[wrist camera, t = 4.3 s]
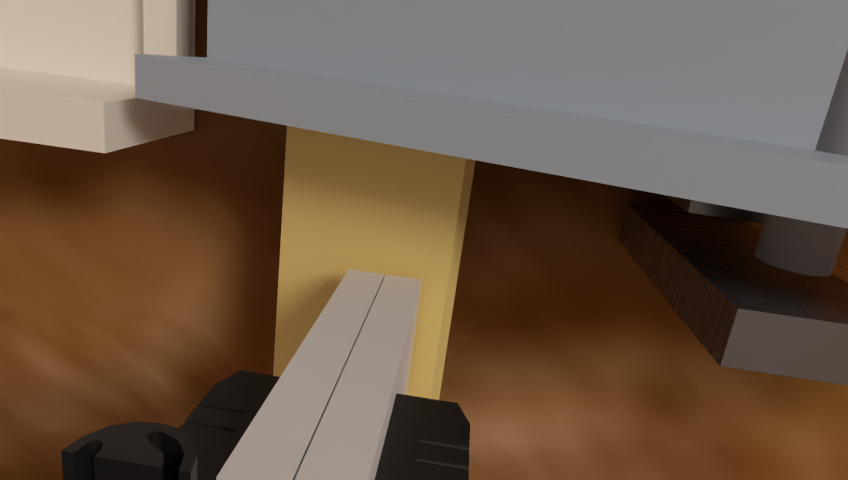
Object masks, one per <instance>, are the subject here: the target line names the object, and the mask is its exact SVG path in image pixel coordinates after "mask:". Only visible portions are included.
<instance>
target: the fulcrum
mask: <svg viewBox="0 0 848 480" xmlns="http://www.w3.org/2000/svg"><path fill="white" fill-rule="evenodd" d="M664 196H665V197H667V198H668V199H669V200H671V201H672V202H674V203H675V204H676V205H678V206H679V207H681V208H682V209H683V210H685V211H686V212H688V213H694V214H701V215H708V216H716V217H723V218H730V219H737V220H744V221H751V222H759V223H764V220H765V217H766V213H760V212H755V211H749V210H744V209H738V208H733V207H727V206H722V205H716V204H711V203H706V202H700V201H695V200H689V199H684V198H678V197H673V196H667V195H664ZM760 233H761V231H760V230H758V229H756V228H755V227H753V226H751V225H750V224H748V223H746V222H741V221H734V220H727V219H720V218H713V217H706V216H698V215H691V214H684V213H677V212H670V211H663V210H655V209H648V208H641V207H634V206H629V207H628V211H627V215H626V219H625V223H624V228H623V232H622V236H621V240H620V243H621V244H622V245H623V247H624V248H625V249H626V250H627V252H628V253H629V254H630V255H631V257H632V258H633V259H634V260H635V261H636V263H637V264H638V265H639V266H640V268H641V269H642V270H643V271H644V273H645V274H646V275H647V276H648V278H649V279H650V280H651V281H652V283H653V284H654V285H655V286H656V288H657V289H658V290H659V291H660V292H661V294H662V295H663V296H664V297H665V299H666V300H667V301H668V302H669V304H670V305H671V306H672V307H673V309H674V310H675V311H676V312H677V314H678V315H679V316H680V317H681V318H682V320H683V321H684V322H685V323H686V325H687V326H688V327H689V328H690V330H691V331H692V332H693V333H694V335H695V336H696V337H697V338H698V340H699V341H700V342H701V343H702V344H703V346H704V347H705V348H706V349H707V351H708V352H709V353H710V354H711V356H712V357H713V358H714V359H715V361H716V362H717V363H718V364H719V366H721V367H728V368H735V369H741V370H748V371H755V372H762V373H768V374H775V375H782V376H789V377H795V378H802V379H809V380H816V381H822V382H829V383H836V384H843V385H848V283H847V282H845V281H843V280H842V279H840V278H838V277H837V276H835V275H833V274H831V275H830V276H823V277H822V276H810V275H804V274H799V273H795V272H791V271H787V270H783V269H780V268H777V267H774V266H771V265H769V264H766V263H764V262H762V261H760V260H759V259H757V258H756V257H755V256H754V253H755V249H756V246H757V243H758V240H759V236H760Z"/></svg>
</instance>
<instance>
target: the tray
mask: <svg viewBox="0 0 848 480" xmlns="http://www.w3.org/2000/svg"><path fill="white" fill-rule="evenodd" d="M195 9H196V0H0V139H7V140H14V141H21V142H28V143H35V144H42V145H50V146H57V147H64V148H71V149H78V150H85V151H92V152H99V153H108V152H112V151H116V150H120V149H124V148H128V147H131V146H135V145H139V144H143V143H147V142H150V141H154V140H158V139H162V138H166V137H170V136H173V135H177V134H181V133H185V132H189V131H192V130H194V117H195V109H194V108H188V107H183V106H177V105H172V104H166V103H161V102H156V101H150V100H145V99H139V98H136V96H135V54H148V55H168V56H187V57H195Z"/></svg>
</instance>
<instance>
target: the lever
mask: <svg viewBox="0 0 848 480" xmlns="http://www.w3.org/2000/svg"><path fill="white" fill-rule="evenodd" d="M135 96H136V98H139V99H145V100H150V101H156V102H161V103H166V104H172V105H177V106H183V107H188V108H194V109H199V110H205V111H210V112H215V113H221V114H226V115H232V116H237V117H243V118H248V119H254V120H259V121H264V122H270V123H275V124H281V125H286V126H287V135H286V153H285V171H284V189H283V206H282V224H281V242H280V260H279V278H278V296H277V314H276V332H275V350H274V368H273V376H278V377H281V375H282V373H283V372H284V370H285V369H286V367H287V366H288V364H289V362H290V361H291V359H292V358H293V356H294V355H295V353H296V351H297V350H298V348H299V347H300V345H301V344H302V342H303V340H304V339H305V337H306V336H307V334H308V333H309V331H310V330H311V328H312V326H313V325H314V323H315V322H316V320H317V319H318V317H319V315H320V314H321V312H322V311H323V309H324V308H325V306H326V304H327V303H328V301H329V300H330V298H331V297H332V295H333V293H334V292H335V290H336V289H337V287H338V286H339V284H340V282H341V281H342V279H343V278H344V276H345V275H346V273H347V272H348V270H349V269H352V270H359V271H366V272H372V273H379V274H385V275H392V276H399V277H405V278H412V279H419V280H422V282H421V289H420V297H419V304H418V312H417V319H416V327H415V334H414V342H413V349H412V357H411V364H410V372H409V379H408V387H407V394H406V395H410V396H416V397H422V398H428V399H435V400H439V396H440V390H441V383H442V376H443V370H444V363H445V357H446V350H447V344H448V337H449V331H450V324H451V318H452V311H453V305H454V298H455V292H456V285H457V279H458V272H459V266H460V259H461V253H462V246H463V240H464V233H465V226H466V220H467V213H468V207H469V200H470V194H471V187H472V181H473V174H474V168H475V161H476V160H477V161H482V162H488V163H493V164H499V165H504V166H510V167H515V168H520V169H526V170H531V171H537V172H542V173H548V174H553V175H559V176H564V177H569V178H575V179H580V180H586V181H591V182H597V183H602V184H608V185H613V186H618V187H624V188H629V189H635V190H640V191H646V192H651V193H657V194H662V195H667V196H673V197H678V198H684V199H689V200H695V201H700V202H706V203H711V204H716V205H722V206H727V207H733V208H738V209H744V210H749V211H755V212H760V213H766V217H765V220H764V224H763V227H762V230H761V233H760V236H759V240H758V243H757V246H756V249H755V253H754V256H755V257H756V258H757V259H759V260H760V261H762V262H764V263H766V264H769V265H771V266H774V267H777V268H780V269H783V270H787V271H791V272H795V273H799V274H804V275H810V276H822V277H823V276H830V275H831V274H832V271H833V268H834V266H835V263H836V260H837V257H838V254H839V252H840V249H841V246H842V243H843V240H844V238H845V235H846V232H847V229H848V0H208V16H207V58H206V57H187V56H168V55H148V54H135ZM384 278H385V276H384Z"/></svg>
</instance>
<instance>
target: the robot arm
mask: <svg viewBox="0 0 848 480" xmlns="http://www.w3.org/2000/svg"><path fill="white" fill-rule="evenodd" d="M384 276H385V278H384ZM421 282H422V280H419V279H412V278H405V277H399V276H392V275H385V274H379V273H372V272H366V271H359V270H352V269H349V270H348V272H347V273H346V275H345V276H344V278H343V279H342V281H341V282H340V284H339V286H338V287H337V289H336V290H335V292H334V293H333V295H332V297H331V298H330V300H329V301H328V303H327V304H326V306H325V308H324V309H323V311H322V312H321V314H320V315H319V317H318V319H317V320H316V322H315V323H314V325H313V326H312V328H311V330H310V331H309V333H308V334H307V336H306V337H305V339H304V340H303V342H302V344H301V345H300V347H299V348H298V350H297V351H296V353H295V355H294V356H293V358H292V359H291V361H290V362H289V364H288V366H287V367H286V369H285V370H284V372H283V373H282V375H281V377H278V376H272V375H265V374H259V373H253V372H247V371H239V372H237V373H235V374H233V375H232V376H230V377H228V378H226V379H224V380H223V381H221V382H219V383H217V384H215V385H214V386H213V387H212V389H211V390H210V391H209V392H208V394H207V395H206V396H205V397H204V398H203V400H202V401H201V402H200V403H199V405H198V408H197V409H196V408H195V409H194V410H193V412H192V413H191V414H190V415H189V417H188V418H187V419H186V420H185V423H184V426H183V425H181V426H180V427H179V429H177V428H174V427H171V426H168V425H165V424H161V423H147V422H132V423H126V424H120V425H114V426H109V427H106V428H103V429H101V430H98V431H95V432H93V433H90V434H88V435H85V436H83V437H81V438H80V439H78V440H77V441H75V442H74V443H72V444H71V445H69V446H68V447H67V448H65V449H64V450H62V465H63V480H468V476H469V470H468V467H469V439H470V423H469V422H468V420H467V418H466V417H465V415H464V413H463V411H462V410H461V408H460V406H459V405H458V403H453V402H447V401H441V400H435V399H428V398H422V397H416V396H410V395H406V394H407V387H408V379H409V372H410V364H411V357H412V349H413V342H414V334H415V327H416V319H417V312H418V304H419V297H420V289H421Z"/></svg>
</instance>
